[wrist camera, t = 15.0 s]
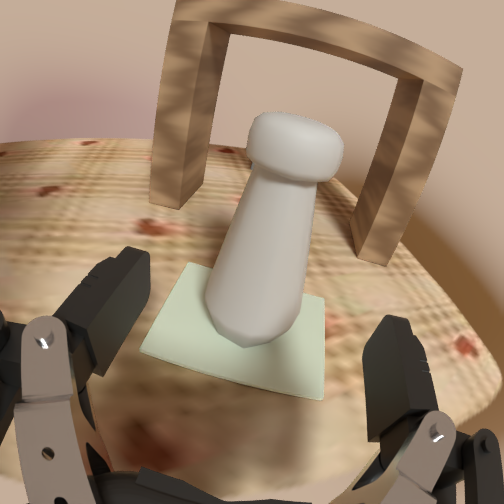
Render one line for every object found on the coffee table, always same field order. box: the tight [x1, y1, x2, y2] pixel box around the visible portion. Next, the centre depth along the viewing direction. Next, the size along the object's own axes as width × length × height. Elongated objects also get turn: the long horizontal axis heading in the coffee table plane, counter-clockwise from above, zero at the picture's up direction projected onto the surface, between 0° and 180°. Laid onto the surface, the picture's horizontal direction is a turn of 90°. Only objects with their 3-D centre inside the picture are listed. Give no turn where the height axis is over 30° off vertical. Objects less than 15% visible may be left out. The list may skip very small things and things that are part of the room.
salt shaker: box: [205, 112, 344, 348], centre depth 16 cm, size 6×6×13 cm
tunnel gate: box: [149, 0, 463, 266], centre depth 27 cm, size 26×8×22 cm, turn 80°
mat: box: [139, 262, 325, 401], centre depth 19 cm, size 11×9×1 cm
